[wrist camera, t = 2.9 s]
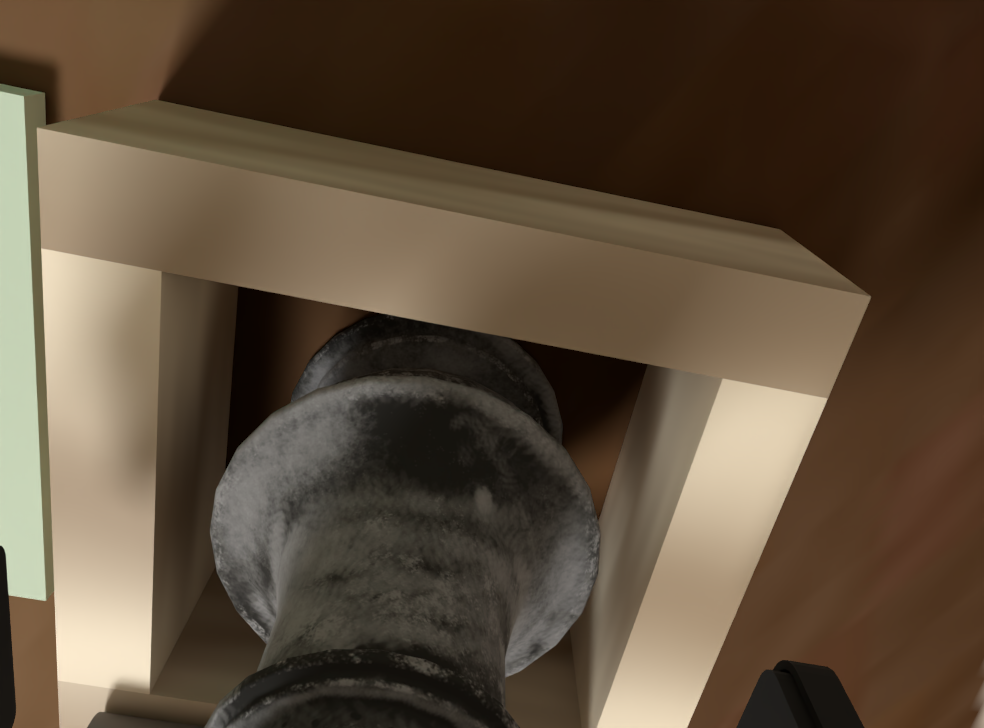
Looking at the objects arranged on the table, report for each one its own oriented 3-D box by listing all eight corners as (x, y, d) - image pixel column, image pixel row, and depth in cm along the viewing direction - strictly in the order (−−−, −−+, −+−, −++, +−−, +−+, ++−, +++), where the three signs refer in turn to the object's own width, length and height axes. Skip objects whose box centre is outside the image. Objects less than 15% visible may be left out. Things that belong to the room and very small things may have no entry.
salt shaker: (356, 594, 16) (77, 1749, 5) (215, 360, 14) (-737, 1516, 3) (619, 507, 15) (917, 1690, 5) (511, 243, 13) (582, 1308, 2)
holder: (156, 99, 12) (-16, 138, 8) (780, 229, 13) (908, 325, 9) (144, 603, 16) (28, 796, 12) (617, 678, 17) (654, 882, 13)
